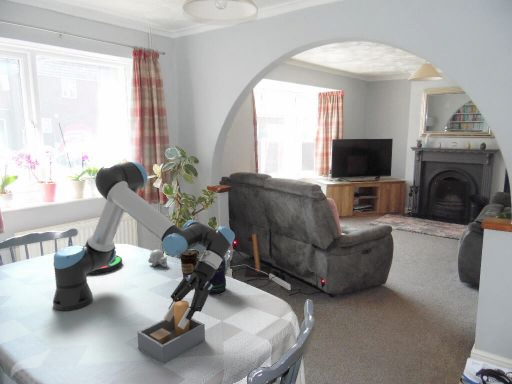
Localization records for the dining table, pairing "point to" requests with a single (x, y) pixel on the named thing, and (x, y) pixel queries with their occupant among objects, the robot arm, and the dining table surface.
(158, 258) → the toy rhinoceros
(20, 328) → the dining table surface
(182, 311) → the tan dome-topped cylinder
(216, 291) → the storage jar
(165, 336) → the walnut cube
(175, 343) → the tote
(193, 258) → the coffee cup
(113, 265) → the electronic game
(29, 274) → the dining table surface
